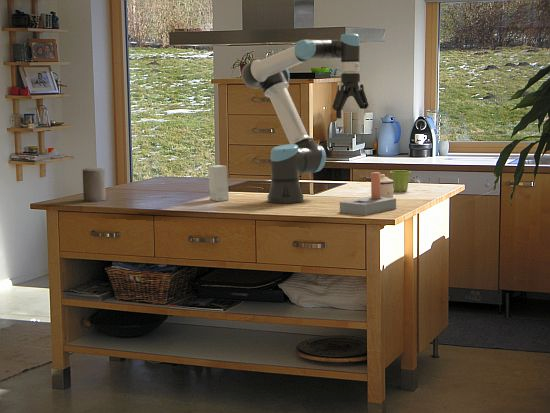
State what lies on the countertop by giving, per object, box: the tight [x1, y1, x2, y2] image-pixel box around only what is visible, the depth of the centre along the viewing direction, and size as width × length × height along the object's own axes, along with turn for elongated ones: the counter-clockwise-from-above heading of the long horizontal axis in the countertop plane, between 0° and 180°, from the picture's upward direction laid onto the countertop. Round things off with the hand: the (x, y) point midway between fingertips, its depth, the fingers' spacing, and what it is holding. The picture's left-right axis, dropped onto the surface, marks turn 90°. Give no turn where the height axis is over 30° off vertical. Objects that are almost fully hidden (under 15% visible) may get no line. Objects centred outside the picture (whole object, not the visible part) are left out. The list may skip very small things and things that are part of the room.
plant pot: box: [389, 169, 412, 193], centre depth 423 cm, size 9×9×9 cm
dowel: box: [370, 171, 381, 200], centre depth 371 cm, size 4×4×14 cm
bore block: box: [339, 195, 397, 216], centre depth 369 cm, size 12×20×4 cm, turn 136°
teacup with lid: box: [380, 173, 394, 198], centre depth 387 cm, size 12×9×12 cm
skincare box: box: [207, 164, 230, 202], centre depth 406 cm, size 8×6×15 cm
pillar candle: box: [82, 166, 107, 202], centre depth 414 cm, size 10×10×15 cm
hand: (350, 125), depth 385 cm, fingers open, 13 cm apart
